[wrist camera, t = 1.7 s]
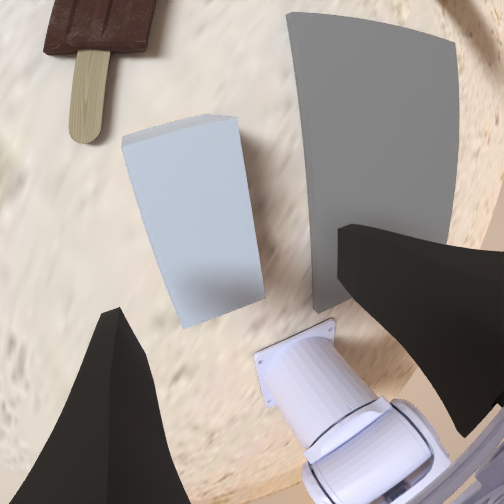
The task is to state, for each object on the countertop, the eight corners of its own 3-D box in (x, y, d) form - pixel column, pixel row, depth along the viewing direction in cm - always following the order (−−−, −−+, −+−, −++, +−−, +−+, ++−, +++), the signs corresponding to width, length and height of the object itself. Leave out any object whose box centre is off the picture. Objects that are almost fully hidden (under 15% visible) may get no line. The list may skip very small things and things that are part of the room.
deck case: (232, 254, 20) (265, 298, 16) (166, 278, 19) (183, 329, 14) (204, 113, 15) (236, 117, 11) (122, 136, 14) (121, 147, 10)
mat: (440, 242, 30) (445, 245, 29) (313, 308, 25) (318, 313, 24) (448, 42, 18) (455, 42, 18) (285, 14, 13) (292, 11, 13)
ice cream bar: (133, 140, 14) (181, -84, 8) (135, 143, 13) (188, -97, 7) (41, 144, 12) (95, -85, 6) (32, 148, 11) (95, -98, 5)
